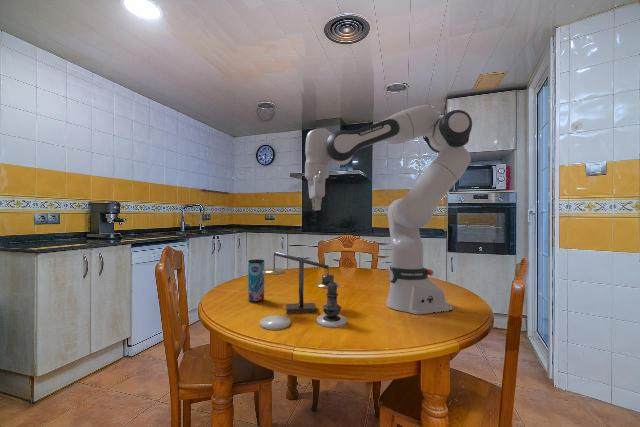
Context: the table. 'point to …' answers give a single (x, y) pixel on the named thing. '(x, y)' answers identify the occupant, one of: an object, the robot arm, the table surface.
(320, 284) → the balance
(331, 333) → the table surface
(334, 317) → the chess piece
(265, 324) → the dish high side
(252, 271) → the beverage can
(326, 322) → the dish low side
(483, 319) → the table surface
